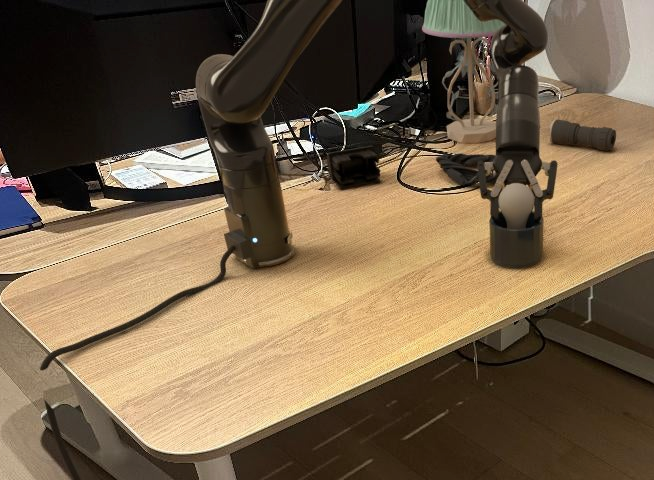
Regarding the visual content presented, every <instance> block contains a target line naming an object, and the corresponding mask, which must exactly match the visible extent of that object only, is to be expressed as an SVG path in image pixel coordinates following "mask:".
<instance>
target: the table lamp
mask: <svg viewBox="0 0 654 480" xmlns="http://www.w3.org/2000/svg"><path fill="white" fill-rule="evenodd" d="M504 25H505V23H503V22H502V21H500V20H490V21H486V22H482V21H480V20H478V19H477V18H476V17H475V15H474V14H473V13H472V11H471V10H470V9H469V7H468V6H467V5H466V3H465V2H464V1H463V0H427V2H426V7H425V10H424V21H423V24H422V26H421V30H422V32H423V33H425V34H427V35H430V36H434V37H440V38H449V39H451V38H452V39H455V40H453V41H451V42H450V46H449V49H448V51H449V53H450V54H452V51H453V48H454V46H455V45H462V47H464V49H462V50H461V51H460V52H459V53H458V56H457V57H456V61H457V62H456V63H454V66H455V67H454V68H453V69H451V70H449V71H447V72H445V75H444V76H443V78H442V81H441V84H442V85H443V88H444V89H445V90H446V91H447V95H446V97H447V109H448V111H446V118H447V119H451V120H452V122H451V123H449V124H447V125H446V132H447V139H449V140H452V141H455V142H458V143H461V144H479V143H484V142H490V141H492V140H494V139H496V122H494V121H492V120H488V119H487V118H492V117H493V116H494V115H495V113H497V109H498V103H497V104H496V95H497V94H496V91H495V88H496V87H497V86H499V83H498V81H497V82H496V84H494V82H493V79H492V78H491V77H490V76H489V74H488V73H487V71H486V70H485V69H484V67H483V66H482V65H485V66H487V67H488V68H489V69H490V71H492V72H493V73H496V72H495V67H494V65H489V64H487V63H485V61H484V60H482V59H481V58H480V57H477V55H476V54H477V48H475V46H476V44H477V43H478V42H480V41H482V42H483V43H486V49H487V50H489V48H490V47H489V46H490V42H489V41H488V39H487V37H489V38H490V37H493V35H494V33H495V32H496V31H497V30H498V29H499V28H501V27H502V26H504ZM461 39H466V42H465V41H464V40H461ZM472 39H474V41H472ZM481 64H482V65H481ZM476 66H477V67H478V68H479V70H480V71H481V72H482V73H483V75H484V76H485V78H486V79H487V80H488V82H489V85H490V89H488V88H487V87H486V86H484V91H485V93H486V94H487V95H489V96H490V98H491V101H490V107H489V109H487V111H486V113H484V115H483V116H482V117H481V118H475V109H474V80H473V79H474V78H473V76H475V77H478V75H477V69H476ZM455 70H456V72H455V74H454V71H455ZM460 73H461V77H462V78H464V77H465V76H466V74H467V73H468V74H467V76H468V78H467V79H468V94H469V95H468V99H469V118H466V119H461V118H460V117H458V116H457V115H456V114H455V112H454V111H453V105H454V102H455V100H456V99H458V97H459V95H460V89H458V90H457V91H456V92H455V93H454V91H453V90H452V89H453V85H454V83H455V82H456V81H457V78H458V76H459V75H460ZM453 74H454V75H453ZM452 75H453V77H452V78H451V81H450V82H449V86H448V88H447V86H446V84H445V80H446V79H447V78H449V77H451V76H452ZM451 94H452V95H451ZM450 99H451V101H450ZM492 110H493V112H492V113H491V111H492ZM490 113H491V114H490Z"/></svg>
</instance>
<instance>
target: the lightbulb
mask: <svg viewBox="0 0 654 480" xmlns="http://www.w3.org/2000/svg"><path fill="white" fill-rule="evenodd" d="M498 202H499V211H501V212H502V214H503V216H504V217H505V220H506V222H507V229H526V223H527V220H528V217H529V216H530V214H531V212H532V211H534V195H533V193H532V191H531V190H530V189H529V187H528V185H526V186H525V185H523V184H520V183H513V184H510V185H507V186H506V187H505V188H504V189H503V190H502V191H501V193H500V195H499V200H498Z"/></svg>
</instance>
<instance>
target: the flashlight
mask: <svg viewBox="0 0 654 480" xmlns="http://www.w3.org/2000/svg"><path fill="white" fill-rule="evenodd" d="M548 132H549V133H548V134H549V135H548V136H549V142H550V143H551V144H557V145H570V146H577V144H578V145H580V146H585V147H586V146H587V147H590V148H594V149H597V150H599V151H603V152H608V151H612V150H613V149H614V147H615V144H616V141H617V131H616V129H613V128H612V127H607V126H602V127H597V126H585V125H580V123H577V122H570V121H569V120H563V119H557V118H554V119H553V121H552V122H551V124H550V127H549V131H548Z"/></svg>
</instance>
